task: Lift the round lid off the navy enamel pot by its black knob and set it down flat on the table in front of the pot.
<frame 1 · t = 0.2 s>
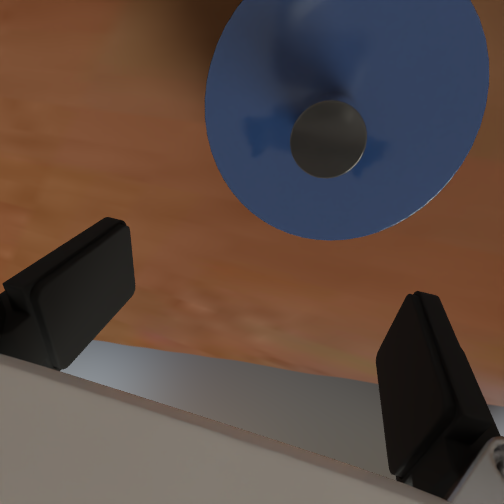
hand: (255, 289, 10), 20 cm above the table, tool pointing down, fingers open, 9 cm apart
lid: (330, 120, 17), point 8 cm above the table, touching pot
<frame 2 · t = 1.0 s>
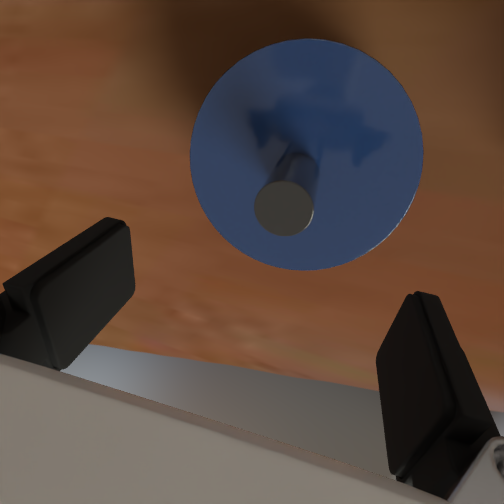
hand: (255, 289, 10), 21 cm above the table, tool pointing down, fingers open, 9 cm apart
lid: (297, 173, 20), point 8 cm above the table, touching pot
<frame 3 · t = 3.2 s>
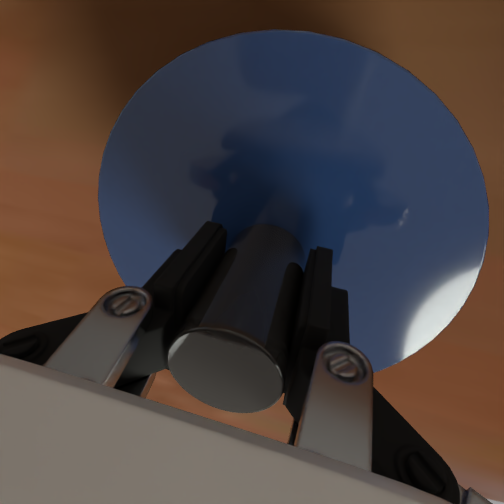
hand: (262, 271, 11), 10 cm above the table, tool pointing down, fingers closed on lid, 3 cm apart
lid: (269, 250, 13), point 9 cm above the table, touching gripper, pot
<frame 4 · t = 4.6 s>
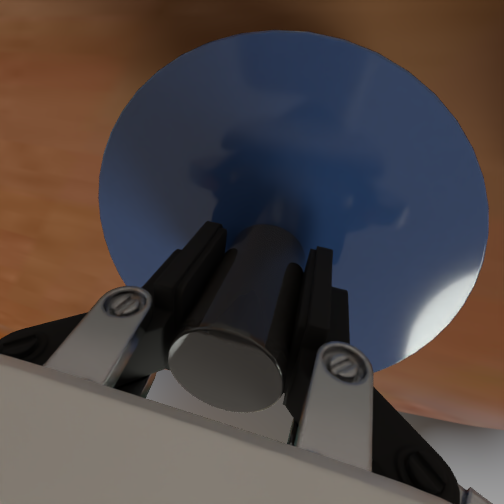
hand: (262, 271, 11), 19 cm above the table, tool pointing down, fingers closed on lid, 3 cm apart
lid: (270, 250, 13), point 17 cm above the table, touching gripper
when the fingers open (2 cm above the table, at t = 11.2 s): lid stays where it is, point 1 cm above the table.
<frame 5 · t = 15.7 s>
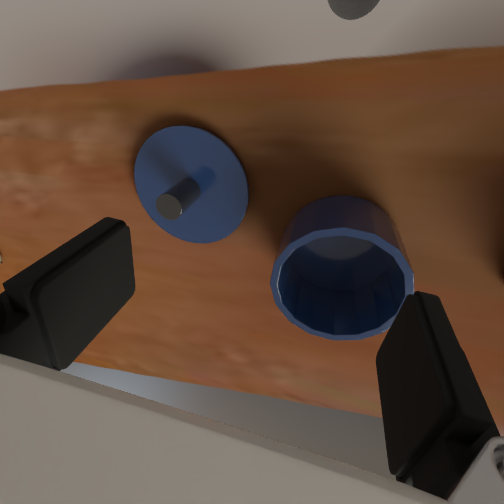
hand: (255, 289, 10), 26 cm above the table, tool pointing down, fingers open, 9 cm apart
lid: (191, 188, 38), point 1 cm above the table
pot: (338, 248, 38), on the table
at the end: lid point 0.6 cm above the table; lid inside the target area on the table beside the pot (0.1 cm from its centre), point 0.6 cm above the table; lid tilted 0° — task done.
